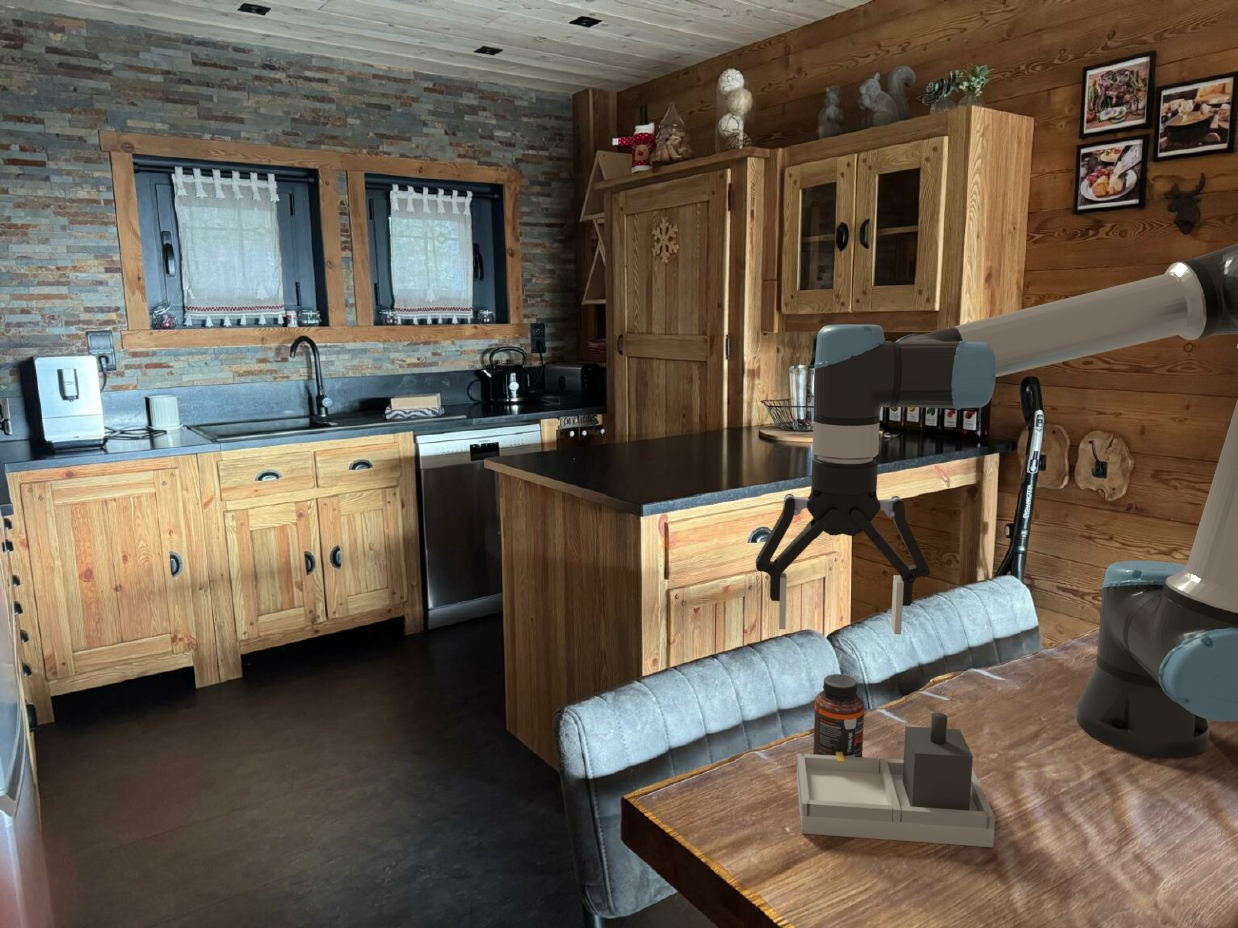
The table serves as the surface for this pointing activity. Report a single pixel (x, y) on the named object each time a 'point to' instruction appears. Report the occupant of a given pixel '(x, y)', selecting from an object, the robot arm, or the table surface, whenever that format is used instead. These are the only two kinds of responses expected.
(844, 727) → the supplement bottle
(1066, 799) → the table surface
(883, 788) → the two-section tray
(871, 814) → the free socket
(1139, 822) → the table surface
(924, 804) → the single-knob plug
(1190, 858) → the table surface
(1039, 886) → the table surface
